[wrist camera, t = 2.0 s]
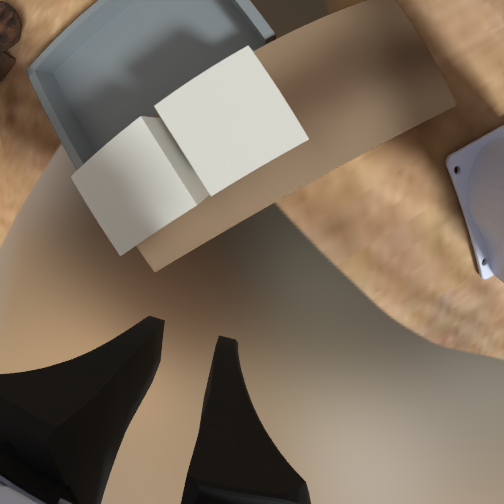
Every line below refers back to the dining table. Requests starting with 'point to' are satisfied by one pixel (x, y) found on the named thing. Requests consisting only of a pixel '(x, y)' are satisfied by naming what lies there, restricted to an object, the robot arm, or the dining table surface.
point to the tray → (134, 62)
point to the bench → (323, 112)
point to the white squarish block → (139, 183)
